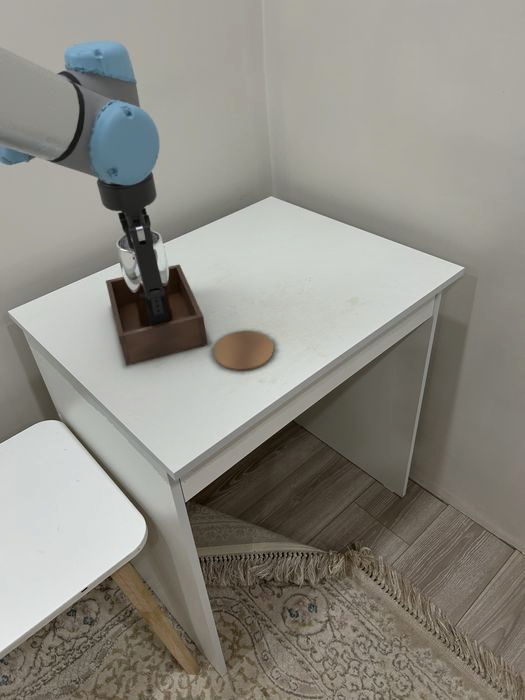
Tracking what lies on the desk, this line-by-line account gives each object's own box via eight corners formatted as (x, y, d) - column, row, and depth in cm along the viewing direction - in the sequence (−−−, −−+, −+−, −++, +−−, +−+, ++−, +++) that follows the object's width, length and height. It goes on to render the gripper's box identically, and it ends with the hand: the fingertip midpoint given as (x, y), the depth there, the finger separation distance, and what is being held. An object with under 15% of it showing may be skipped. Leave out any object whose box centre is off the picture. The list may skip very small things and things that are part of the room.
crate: (126, 365, 82) (118, 337, 78) (113, 307, 94) (105, 280, 90) (207, 344, 84) (203, 316, 81) (184, 290, 97) (179, 264, 93)
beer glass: (130, 319, 90) (109, 237, 81) (169, 305, 92) (153, 224, 83) (143, 341, 85) (122, 256, 76) (185, 326, 88) (169, 243, 78)
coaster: (223, 377, 78) (223, 375, 78) (207, 341, 85) (207, 339, 85) (282, 361, 80) (281, 359, 80) (262, 327, 87) (262, 325, 87)
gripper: (169, 204, 65) (194, 343, 78) (137, 141, 83) (162, 263, 97) (106, 216, 63) (142, 356, 77) (87, 149, 81) (119, 272, 95)
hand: (153, 304), depth 87 cm, fingers open, 13 cm apart
